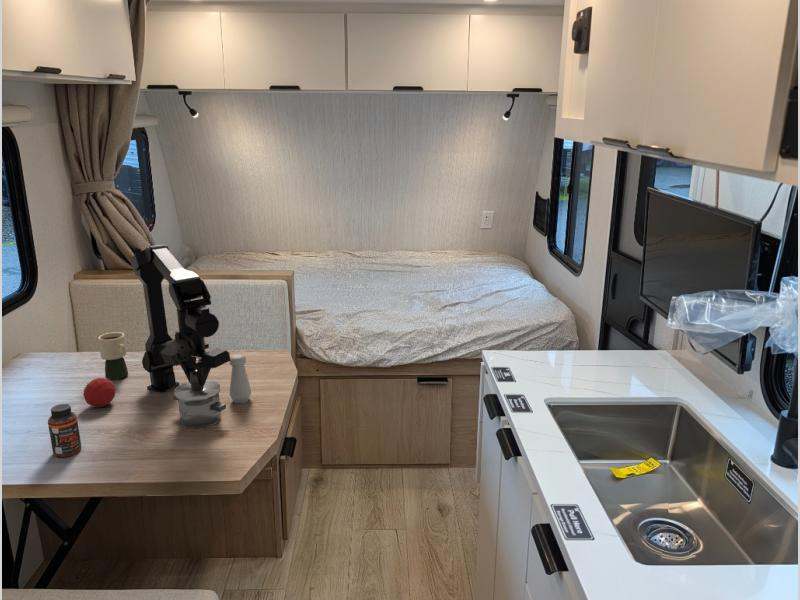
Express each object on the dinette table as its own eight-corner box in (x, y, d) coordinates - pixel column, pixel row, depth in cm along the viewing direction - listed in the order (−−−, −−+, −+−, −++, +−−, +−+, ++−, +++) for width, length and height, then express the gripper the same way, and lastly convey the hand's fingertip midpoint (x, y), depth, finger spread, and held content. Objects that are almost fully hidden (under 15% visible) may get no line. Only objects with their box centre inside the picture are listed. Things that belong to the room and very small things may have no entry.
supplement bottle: (62, 461, 140) (54, 415, 137) (48, 453, 143) (39, 409, 140) (87, 449, 145) (80, 405, 142) (72, 442, 148) (65, 399, 145)
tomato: (108, 379, 163) (91, 367, 166) (86, 403, 160) (70, 391, 163) (126, 392, 169) (110, 381, 173) (105, 416, 166) (89, 404, 170)
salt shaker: (246, 405, 166) (242, 360, 162) (226, 404, 167) (222, 359, 164) (255, 396, 172) (251, 352, 168) (236, 394, 173) (232, 351, 169)
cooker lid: (165, 396, 155) (162, 374, 153) (197, 380, 164) (195, 359, 163) (198, 405, 150) (195, 382, 148) (229, 388, 159) (227, 366, 158)
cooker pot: (163, 420, 158) (160, 399, 157) (192, 404, 167) (190, 384, 165) (210, 434, 152) (208, 411, 150) (238, 416, 160) (236, 395, 158)
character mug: (139, 376, 186) (133, 335, 182) (118, 385, 180) (112, 342, 176) (116, 369, 191) (110, 329, 187) (95, 377, 185) (88, 336, 181)
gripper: (137, 330, 149) (145, 389, 154) (195, 342, 141) (201, 405, 146) (172, 317, 159) (179, 373, 163) (229, 328, 151) (234, 387, 155)
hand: (197, 384), depth 157 cm, fingers closed on cooker lid, 3 cm apart
